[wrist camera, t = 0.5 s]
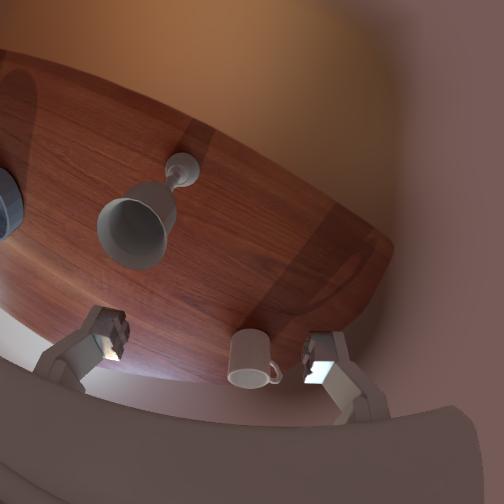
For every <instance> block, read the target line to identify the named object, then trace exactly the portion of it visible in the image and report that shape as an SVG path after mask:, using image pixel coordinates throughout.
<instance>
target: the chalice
mask: <svg viewBox="0 0 504 504" xmlns="http://www.w3.org/2000/svg"><path fill="white" fill-rule="evenodd" d="M165 171H166V177H167V178H166V181H165V182H163V183H160V182H155V181H153V182H146V183H139V184H137V185H136V186H134V187H132V188H131V189H130V190H129V191H128V192H127V193H126V194H125V195H124V196H123V197H122V198H121V199H116V200H113V201H112V202H110V203H109V204H107V205H106V206H105V207H104V208H103V210H102V211H101V213H100V215H99V218H98V222H97V234H98V237H99V240H100V243H101V245H102V247H103V249H104V250H105V252H106V253H107V254H108V255H109V256H110V257H111V258H112V259H113V260H114V261H115V262H116V263H118V264H120V265H122V266H123V267H125V268H129V269H133V270H146V269H148V268H151V267H153V266H155V265H156V264H157V263H158V262H159V261H161V259H162V257H163V255H164V253H165V252H166V245H167V236H168V234H169V232H170V231H171V229H172V227H173V225H174V223H175V220H176V214H177V212H176V201H175V197H174V195H173V193H172V192H173V190H174V188H176V187H177V186H188V185H191V184H193V183H194V182H195V181H196V180H197V178H198V176H199V172H200V169H199V164H198V162H197V160H196V159H195V158H194V157H193V156H191V155H190V154H187V153H176V154H174V155H172V156H171V157H170V158H169V159H168V161H167V163H166V167H165Z"/></svg>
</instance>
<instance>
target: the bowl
mask: <svg viewBox="0 0 504 504" xmlns="http://www.w3.org/2000/svg"><path fill="white" fill-rule="evenodd" d="M22 219H23V203H22V197H21V194H20V192H19V189H18V186H17V184H16V183H15V181H14V179H13V178H12V176H11V175H10V174H9V173H8V172H7V171H6V170H4V169H2V168H0V241H3V240H5V239H6V238H7V237H8V236H10V235H11V234H12V233H13V232H14V231H15V230H16V229H17V228H18V227H19V226H20V224H21V223H22Z"/></svg>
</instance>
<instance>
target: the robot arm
mask: <svg viewBox="0 0 504 504" xmlns="http://www.w3.org/2000/svg"><path fill="white" fill-rule="evenodd" d="M125 318H126V315H125V312H124V311H121V310H116V309H111V308H107V307H102V306H97V305H95V306H93V307H92V309H91V311H90V312H89V314H88V316H87V318H86V320H85V321H84V323H83V325H82V327H81V329H80V330H76V331H75V332H73V333H71V334H70V335H68V336H67V337H65V338H64V339H62V340H61V341H59V342H58V343H56V344H55V345H53V346H52V347H50V348H49V349H47V350H46V351H44V352H43V353H42V355H41V357H40V359H39V361H38V362H37V364H36V366H35V368H34V371H33V372H30V371H28V370H26V369H24V368H22V367H20V366H18V365H16V364H14V363H12V362H10V361H8V360H6V359H4V358H2V357H1V356H0V504H484V477H483V466H482V458H481V452H480V446H479V441H478V436H477V432H476V429H475V426H474V424H473V422H472V420H471V419H470V418H469V417H467V416H466V415H465V414H464V413H463V412H462V411H461V410H459V409H458V408H457V407H455V406H452V405H451V406H445V407H441V408H438V409H434V410H430V411H426V412H421V413H417V414H412V415H407V416H402V417H396V418H391V417H390V413H389V408H388V404H387V400H386V395H385V394H384V393H383V392H382V391H381V390H380V388H378V387H377V385H376V384H374V382H373V381H372V380H371V379H370V378H369V377H368V376H367V375H366V374H365V373H364V372H363V371H362V370H361V369H360V368H359V367H358V366H357V365H356V364H355V363H354V362H352V361H350V359H349V355H348V351H347V346H346V342H345V338H344V334H343V332H333V331H309V332H308V334H307V341H305V342H304V345H303V348H302V362H303V363H304V365H305V367H304V369H303V376H304V383H323V384H322V385H323V386H324V387H325V389H326V390H327V392H328V393H329V394H330V396H331V397H332V398H333V400H334V401H335V403H336V404H337V405H338V407H339V408H340V409H341V411H342V413H341V414H340V415H339V416H338V417H337V419H336V420H335V421H334V425H330V426H309V427H270V426H248V425H235V424H223V423H215V422H206V421H199V420H192V419H186V418H179V417H173V416H168V415H163V414H159V413H154V412H149V411H145V410H140V409H136V408H132V407H128V406H124V405H121V404H117V403H114V402H110V401H107V400H104V399H100V398H97V397H94V396H91V395H88V394H85V388H84V386H83V385H82V384H81V383H80V380H81V379H82V378H83V377H84V376H85V375H86V374H87V373H88V372H90V371H91V370H92V369H93V368H94V367H95V366H96V365H97V364H99V363H100V362H101V361H102V360H103V359H104V358H108V359H113V360H117V361H120V359H121V356H122V354H123V351H124V348H123V345H124V344H125V343H127V341H128V338H129V333H130V328H129V324H128V322H127V321H126V320H125Z"/></svg>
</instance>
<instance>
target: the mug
mask: <svg viewBox="0 0 504 504" xmlns="http://www.w3.org/2000/svg"><path fill="white" fill-rule="evenodd" d="M270 365H271V366H272V367H274V369H275V371H276V374H277V377H276V378H270ZM282 377H283V375H282V373H281V371H280V369H279V366H278V365H277V364H276V363H275V362H274V361H273V360H271V359H270V338H269V337H268V335H267V334H266V333H264V332H263V331H260V330H257V329H243V330H239V331H238V332H236V333H235V334H234V335H233V336H232V339H231V348H230V357H229V367H228V380H229V381H230V382H231V383H232V384H234V385H235V386H238V387H241V388H259V387H262V386H264V385H266V384H267V383H269V382H270V383H272V384H277V383H279V382H280V381H281V379H282Z"/></svg>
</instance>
